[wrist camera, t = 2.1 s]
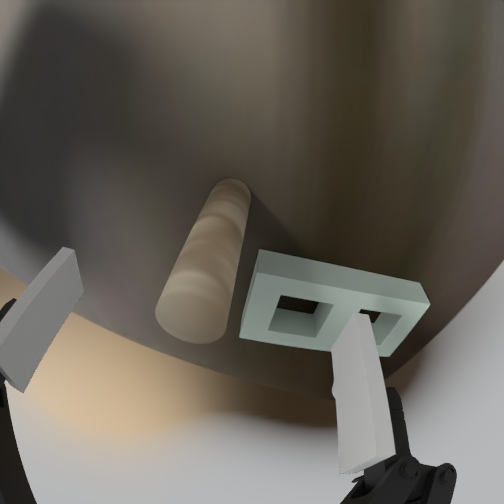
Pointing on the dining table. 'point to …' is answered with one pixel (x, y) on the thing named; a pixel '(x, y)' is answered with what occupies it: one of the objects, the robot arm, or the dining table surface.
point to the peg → (207, 268)
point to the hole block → (326, 303)
